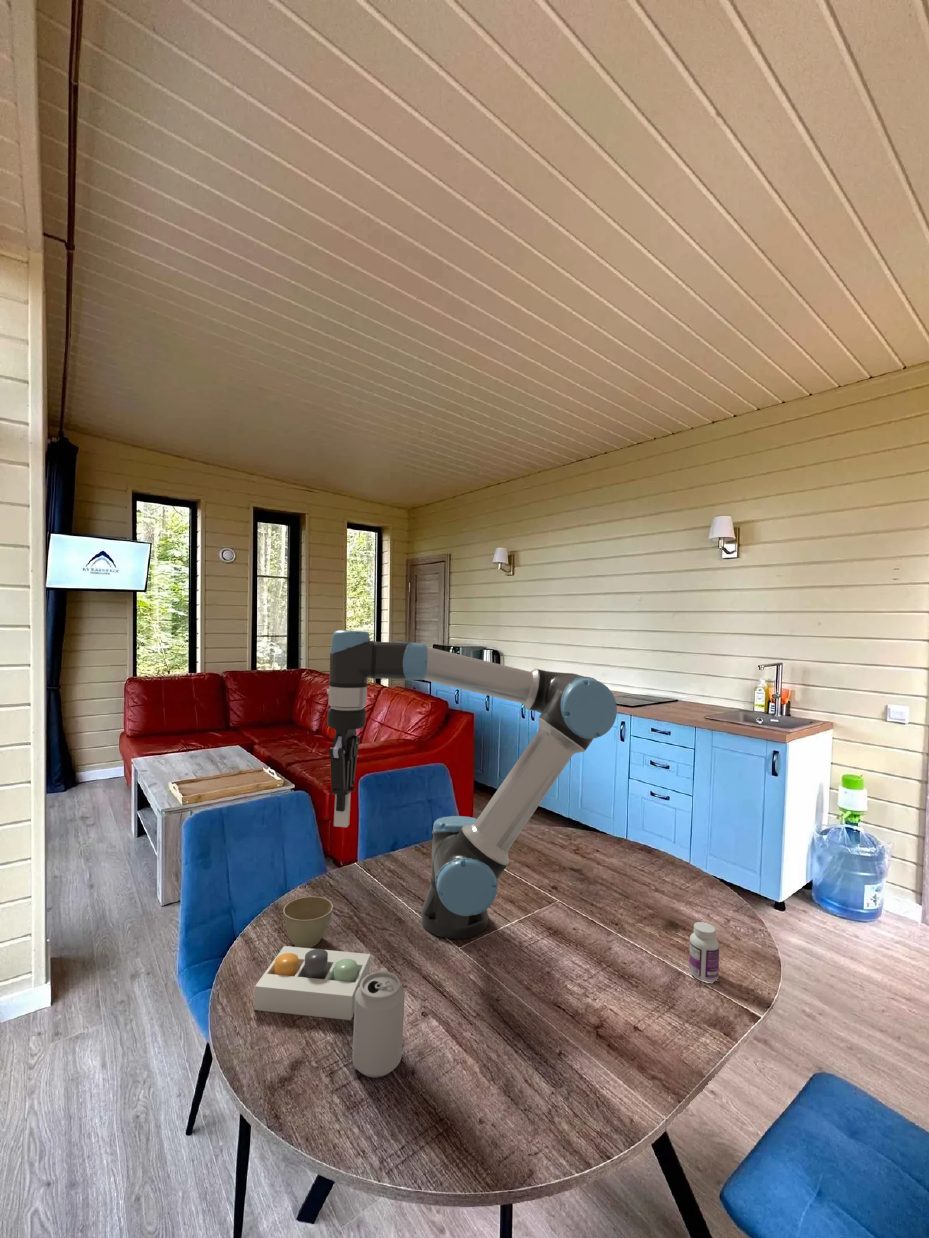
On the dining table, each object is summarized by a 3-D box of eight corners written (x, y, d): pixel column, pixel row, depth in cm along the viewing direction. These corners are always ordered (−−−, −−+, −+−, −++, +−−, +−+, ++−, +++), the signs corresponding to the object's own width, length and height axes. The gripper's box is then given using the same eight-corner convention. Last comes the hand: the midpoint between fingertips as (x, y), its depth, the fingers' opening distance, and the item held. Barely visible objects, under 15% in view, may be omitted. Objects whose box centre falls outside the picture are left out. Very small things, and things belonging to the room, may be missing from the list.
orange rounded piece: (300, 975, 101) (301, 954, 101) (291, 989, 97) (293, 967, 97) (279, 973, 101) (280, 951, 101) (270, 987, 97) (271, 965, 97)
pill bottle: (716, 971, 110) (718, 923, 110) (719, 987, 105) (721, 936, 105) (687, 964, 112) (689, 917, 112) (689, 980, 107) (691, 930, 107)
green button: (358, 981, 100) (359, 959, 100) (352, 996, 96) (353, 973, 96) (337, 979, 100) (338, 957, 100) (330, 993, 96) (331, 971, 96)
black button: (329, 971, 100) (330, 949, 100) (322, 985, 96) (323, 963, 96) (308, 969, 101) (309, 947, 101) (300, 983, 97) (301, 960, 97)
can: (354, 1043, 87) (358, 967, 87) (402, 1042, 87) (405, 966, 88) (348, 1082, 79) (352, 999, 80) (400, 1081, 80) (404, 998, 80)
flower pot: (317, 959, 108) (319, 923, 108) (272, 951, 110) (273, 915, 110) (339, 932, 118) (340, 899, 118) (296, 925, 120) (298, 892, 120)
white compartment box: (369, 975, 104) (370, 954, 104) (350, 1020, 92) (352, 996, 92) (283, 966, 105) (284, 945, 105) (253, 1009, 93) (255, 986, 93)
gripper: (339, 702, 116) (333, 813, 116) (317, 710, 103) (311, 836, 103) (373, 703, 116) (368, 815, 115) (356, 713, 103) (350, 839, 102)
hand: (341, 825), depth 109 cm, fingers closed
